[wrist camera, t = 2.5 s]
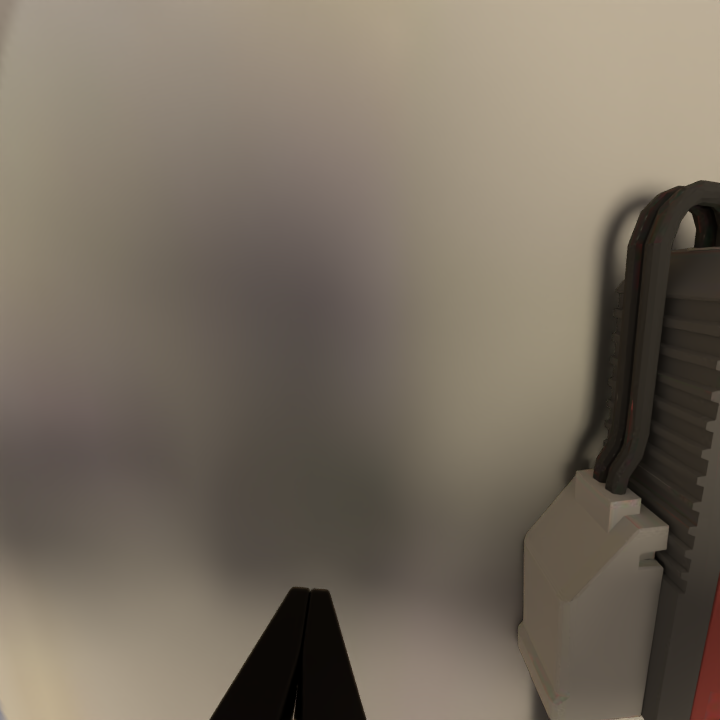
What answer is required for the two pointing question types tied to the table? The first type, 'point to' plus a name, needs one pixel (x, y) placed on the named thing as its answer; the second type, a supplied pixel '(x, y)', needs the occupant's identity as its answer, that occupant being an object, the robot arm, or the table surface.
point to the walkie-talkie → (642, 500)
